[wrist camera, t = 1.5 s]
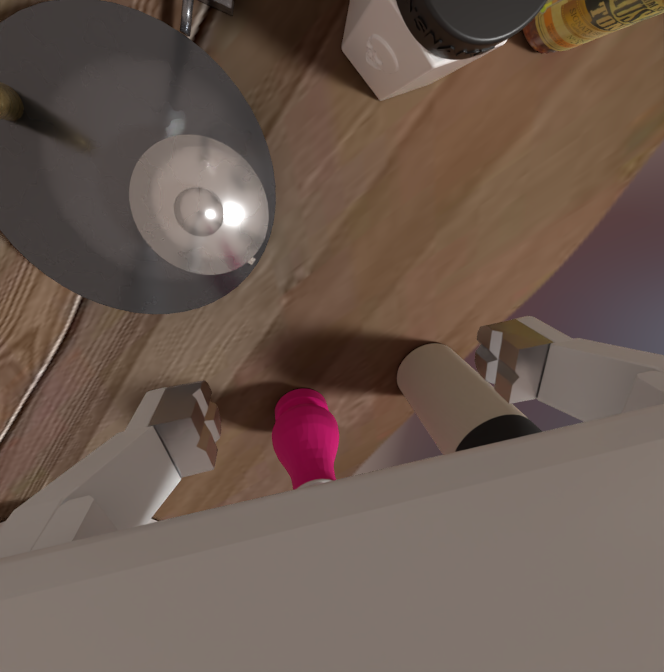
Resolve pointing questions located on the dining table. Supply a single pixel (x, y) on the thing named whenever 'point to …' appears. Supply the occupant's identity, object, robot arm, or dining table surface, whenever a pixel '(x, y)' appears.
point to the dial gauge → (224, 3)
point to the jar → (426, 37)
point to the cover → (198, 204)
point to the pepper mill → (305, 437)
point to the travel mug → (457, 401)
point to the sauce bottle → (584, 21)
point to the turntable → (108, 146)
